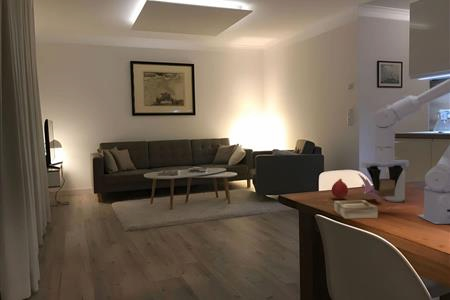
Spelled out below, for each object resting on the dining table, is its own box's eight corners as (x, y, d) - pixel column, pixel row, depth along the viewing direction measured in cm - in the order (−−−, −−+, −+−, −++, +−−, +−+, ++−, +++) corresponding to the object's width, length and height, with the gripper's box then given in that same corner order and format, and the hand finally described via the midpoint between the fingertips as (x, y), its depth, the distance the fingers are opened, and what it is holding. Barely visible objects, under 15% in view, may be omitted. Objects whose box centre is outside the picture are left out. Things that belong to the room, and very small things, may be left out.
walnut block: (394, 196, 116) (394, 180, 116) (380, 196, 116) (380, 180, 116) (387, 193, 121) (388, 178, 121) (374, 194, 121) (374, 178, 120)
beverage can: (406, 202, 133) (407, 169, 132) (387, 202, 134) (387, 169, 133) (401, 199, 139) (402, 167, 138) (383, 198, 140) (383, 167, 139)
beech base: (377, 217, 113) (377, 207, 113) (345, 218, 113) (345, 207, 113) (364, 209, 123) (364, 200, 123) (334, 210, 123) (334, 200, 123)
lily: (380, 210, 127) (391, 185, 128) (347, 194, 131) (358, 170, 132) (376, 212, 138) (387, 189, 139) (346, 198, 142) (357, 176, 143)
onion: (330, 200, 139) (330, 179, 138) (333, 197, 144) (333, 177, 143) (346, 201, 136) (346, 180, 135) (349, 198, 141) (349, 177, 140)
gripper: (401, 145, 122) (400, 186, 123) (357, 146, 121) (357, 188, 122) (412, 147, 115) (411, 190, 116) (366, 148, 114) (365, 192, 115)
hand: (384, 189), depth 118 cm, fingers closed on walnut block, 4 cm apart
